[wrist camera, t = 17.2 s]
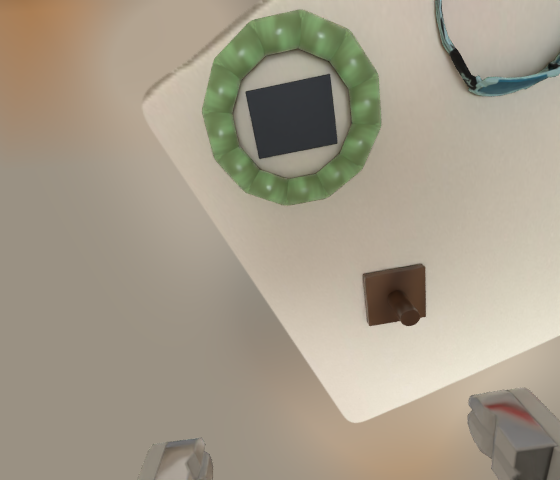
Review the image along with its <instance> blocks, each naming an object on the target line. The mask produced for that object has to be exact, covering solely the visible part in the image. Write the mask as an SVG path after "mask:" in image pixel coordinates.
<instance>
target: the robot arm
mask: <svg viewBox="0 0 560 480" xmlns="http://www.w3.org/2000/svg"><path fill="white" fill-rule="evenodd" d="M469 406H470V407H471V409H472V411H471V412H470V413H469V414H468V426H469V429H470V433H471V435H472V437H473V439H474V441H475V443H476V444H477V446H478V448H479V449H480V451H481V452H482V453H484V454H485V455H487V456H488V457H490V458H491V459H492V465H491V469H492V470H493V472H494V473H495V475H496V476H497V478H498V479H499V480H560V421H559V420H558V419H557V418H556V416H555V415H554V414H553V413H552V412H551V411H550V410H549V409H548V408H547V407H546V406H545V405H544V404H543V403H542V402H541V401H540V400H539V399H538V398H537V397H536V396H535V395H534V394H533V393H532V392H531V391H530V390H529V389H527V388H525V387H522V388H515V389H510V390H500V391H494V392H488V393H482V394H476V395H472V396H470V398H469ZM204 449H205V443H204V440H203V439H202V438H195V439H188V440H180V441H173V442H165V443H158V444H153V445H152V446H151V448H150V449H149V451H148V453H147V456H146V458H145V461H144V463H143V466H142V468H141V471H140V474H139V476H138V479H137V480H213V464H212V459H211V456H210V454H209V453H207V452H205V451H204Z"/></svg>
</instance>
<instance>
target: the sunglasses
mask: <svg viewBox="0 0 560 480" xmlns="http://www.w3.org/2000/svg"><path fill="white" fill-rule="evenodd" d="M435 4H436V18H437V23H438V27H439V31H440V35H441V40H442V44H443V46H444V48H445V49H446V50H447V52H448V53H449V55H450V57H451V59H452V61H453V63H454V65H455V67H456V69H457V70H458V72H459V73H460V75H461V77H462V78H463V80H464V81H465V83H466V84H467V86H468V87H469V90H468V91H470V92H472V93H474V94H477V95H481V96H501V95H505V94H509V93H513V92H516V91H519V90H521V89H527V88H529V87H530V86H532V85H534V84H536V83H538V82H540V81H542V80H544V79H546V78H548V77H556V76H558V75H559V74H560V53H559V55H558V56H557V57H556V59H555V60H554V61H553V62H550V63H549V64H548V66H547V67H546V68H545V69H543V70H542V71H540V72H539V73H538V74H534V75H530V76H526V77H514V78H502V77H487V78H486V79H484V80H481V78H480V76H479V75H478V76H477V77H475V76H473V75H471V73H470V71H469V69H468V68H467V66H466V64H465V62H464V60H463V58H462V56H461V55H460V53H459V52H458V50H457V49H456V48H455V47H454V45H453V43H452V42H451V40H450V39H449V37H448V35H447V31H446V28H445V24H444V20H443V14H442V0H435ZM481 87H482V88H481Z"/></svg>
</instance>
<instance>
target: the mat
mask: <svg viewBox="0 0 560 480" xmlns="http://www.w3.org/2000/svg"><path fill="white" fill-rule="evenodd" d="M246 97H247V102H248V106H249V111H250V116H251V121H252V126H253V130H254V135H255V140H256V145H257V150H258V154H259V159H261V158H266V157H271V156H276V155H281V154H287V153H292V152H297V151H302V150H307V149H312V148H317V147H322V146H327V145H332V144H337V143H338V142H337V133H336V124H335V115H334V106H333V97H332V88H331V79H330V74H327V75H323V76H318V77H313V78H308V79H303V80H299V81H294V82H289V83H284V84H280V85H275V86H270V87H265V88H261V89H256V90H251V91H246Z"/></svg>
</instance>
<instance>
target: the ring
mask: <svg viewBox="0 0 560 480" xmlns="http://www.w3.org/2000/svg"><path fill="white" fill-rule="evenodd" d="M298 48H299V49H301V50H303V51H306V52H308V53H311V54H313V55H315V56H318V57H320V58H323V59H325V60H327V61H329V62H330V63H331V64H332V66H333V67H334V69H335V70H336V72H337V73H338V75H339V76H340V77H341V79H342V80H343V82H344V83H345V85H346V86H347V88H348V89H349V97H350V108H351V119H352V125H351V127H350V129H349V132H348V134H347V137H346V139H345V142H344V144H343V147H342V149H341V152H340V154H339V155H338V156H336V157H335V158H334V159H333V160H332V161H330V162H329V163H328V164H327V165H326V166H325V167H323V168H322V169H321V170H320V171H319V172H317V173H316V174H311V175H306V176H301V177H296V178H291V179H286V178H283V177H280V176H277V175H274V174H271V173H269V172H266V171H263V170H260V169H259V168H258V167H257V166H256V164H255V163H254V162H253V161H252V160H251V159H250V158H249V156H248V155H247V154H246V153H245V152H244V151H243V150H242V148H241V147H240V146H239V142H238V138H237V133H236V129H235V125H234V120H233V116H232V112H233V108H234V104H235V101H236V97H237V93H238V89H239V86H240V82H241V80H242V79H243V78H244V77H245V76H246V75H247V74H248V73H249V72H250V71H251V70H252V69H253V68H254V67H255V66H256V64H257V63H258V62H259V61H260V60H261V59H262V58H263V57H264V56H266V55H270V54H275V53H279V52H284V51H289V50H293V49H298ZM202 114H203V118H204V122H205V126H206V129H207V133H208V137H209V141H210V144H211V148H212V152H213V156H214V158H215V160H216V161H217V163H218V164H219V165H220V166H221V167H222V168H223V169H224V170H225V171H226V172H227V173H228V175H229V176H230V177H231V178H232V179H233V180H234V181H235V182H236V183H237V184H238V185H239V186H240V188H241V189H242V190H243V191H244V192H246V193H248V194H251V195H254V196H257V197H260V198H263V199H266V200H269V201H272V202H275V203H278V204H281V205H284V206H289V205H294V204H300V203H305V202H310V201H316V200H321V199H325V198H328V197H329V196H331V195H332V194H333V193H334V192H336V191H337V190H338V189H339V188H341V187H342V186H343V185H344V184H345V183H347V182H348V181H349V180H350V179H352V178H353V177H354V176H355V175H357V174H358V173H359V172H360V171H361V170H362V168H363V167H364V164H365V162H366V160H367V158H368V155H369V153H370V151H371V149H372V146H373V144H374V142H375V139H376V137H377V135H378V133H379V130H380V128H381V107H380V90H379V76H378V73H377V71H376V69H375V68H374V66H373V65H372V63H371V62H370V60H369V59H368V57H367V55H366V54H365V52H364V51H363V49H362V48H361V46H360V45H359V43H358V42H357V40H356V38H355V37H354V35H353V34H352V32H351V31H350V30H348V29H347V28H345V27H342V26H340V25H338V24H335V23H333V22H331V21H329V20H326V19H324V18H322V17H319V16H317V15H315V14H313V13H310V12H308V11H305V10H295V11H290V12H286V13H281V14H277V15H273V16H268V17H264V18H259V19H255V20H252V21H250V22H249V23H248V24H247V25H246V26H245V27H244V28H243V29H242V30H241V31H240V32H239V33H238V34H237V35H236V36H235V37H234V39H233V40H232V41H231V42H230V43H229V44H228V45H227V46H226V47H225V48H224V49H223V50H222V51H221V52H220V53H219V54H218V56H217V57H216V58H215V59H214V62H213V65H212V69H211V73H210V78H209V82H208V86H207V91H206V95H205V99H204V104H203V108H202Z"/></svg>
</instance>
